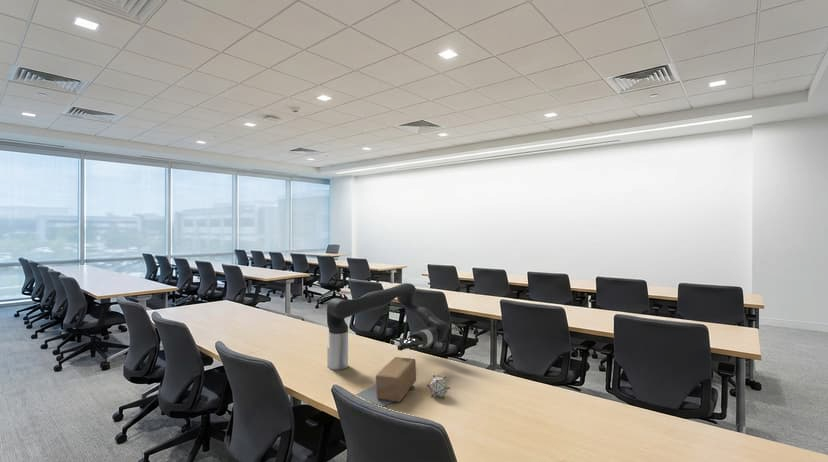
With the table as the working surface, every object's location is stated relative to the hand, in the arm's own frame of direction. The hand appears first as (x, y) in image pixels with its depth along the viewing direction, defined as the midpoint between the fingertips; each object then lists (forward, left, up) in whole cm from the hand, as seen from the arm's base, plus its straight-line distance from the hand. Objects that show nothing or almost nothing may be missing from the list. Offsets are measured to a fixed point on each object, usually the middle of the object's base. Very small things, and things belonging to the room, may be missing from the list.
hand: (399, 348), depth 166 cm
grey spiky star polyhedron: (+20, 0, -16) cm, 26 cm away
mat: (0, -10, -16) cm, 19 cm away
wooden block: (+2, +3, -9) cm, 10 cm away
